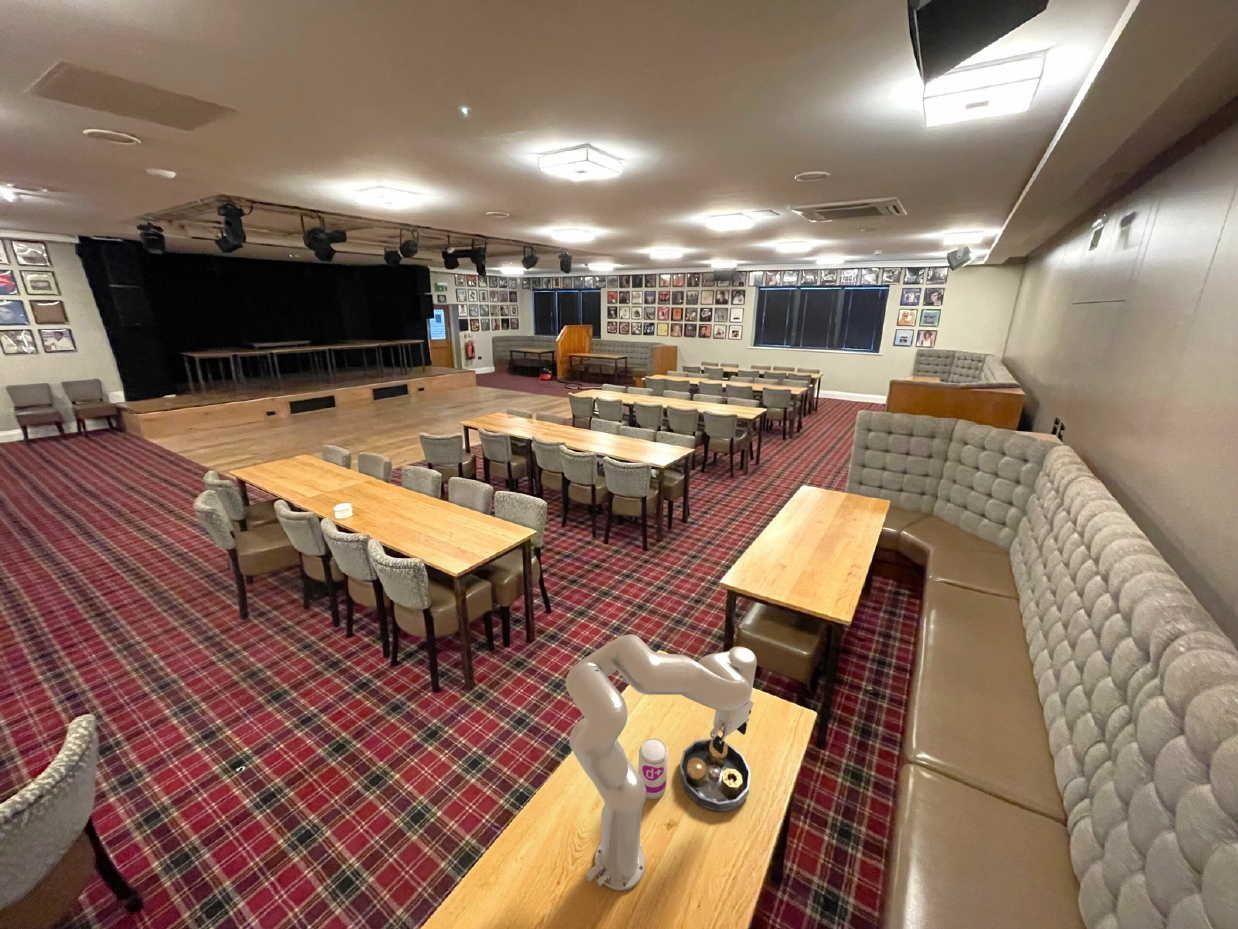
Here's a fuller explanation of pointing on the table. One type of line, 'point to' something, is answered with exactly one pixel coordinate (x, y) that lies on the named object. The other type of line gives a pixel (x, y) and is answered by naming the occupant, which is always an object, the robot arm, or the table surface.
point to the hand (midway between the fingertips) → (729, 740)
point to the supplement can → (653, 767)
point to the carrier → (712, 775)
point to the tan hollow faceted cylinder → (731, 784)
